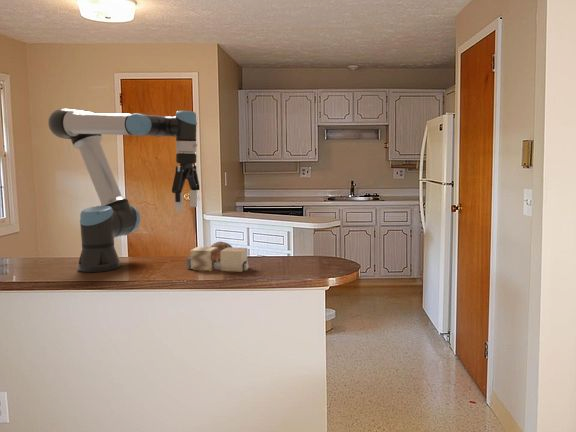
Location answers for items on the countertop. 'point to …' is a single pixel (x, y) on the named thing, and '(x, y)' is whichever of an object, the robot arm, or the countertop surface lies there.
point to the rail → (229, 260)
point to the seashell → (221, 247)
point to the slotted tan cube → (203, 257)
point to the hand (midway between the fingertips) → (186, 208)
